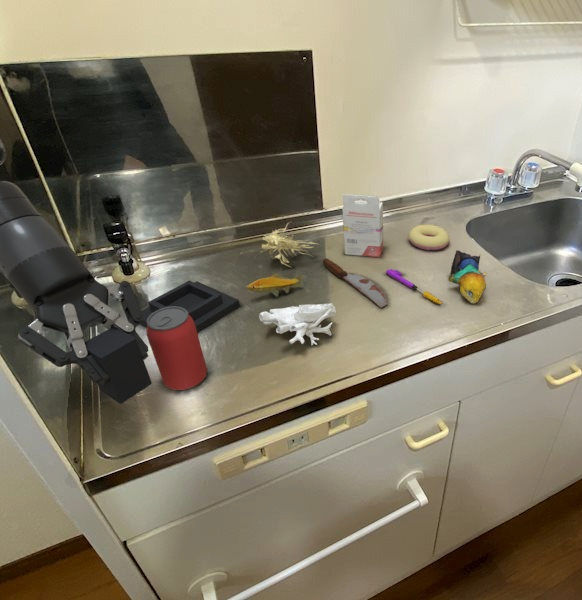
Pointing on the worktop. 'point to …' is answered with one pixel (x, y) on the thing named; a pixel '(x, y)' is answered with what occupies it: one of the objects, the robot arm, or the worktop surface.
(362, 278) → the kitchen knife
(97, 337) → the pad block
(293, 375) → the worktop surface
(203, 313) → the base pad
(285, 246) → the cream spiky piece
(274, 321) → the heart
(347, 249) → the ink cartridge box
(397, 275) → the marker pen
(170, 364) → the beer can
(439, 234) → the donut
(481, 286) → the figurine
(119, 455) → the worktop surface
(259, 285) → the yellow koi
